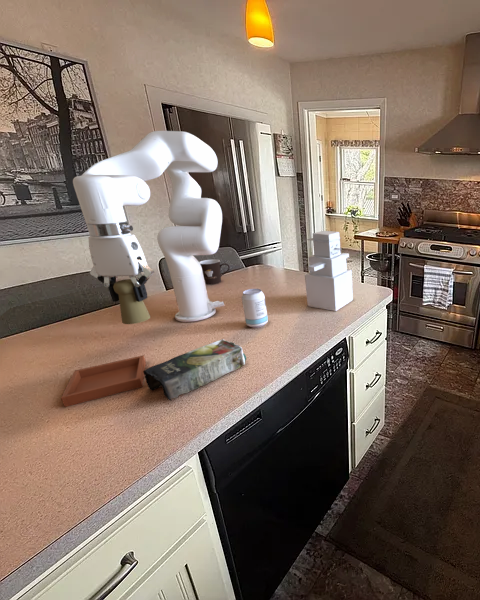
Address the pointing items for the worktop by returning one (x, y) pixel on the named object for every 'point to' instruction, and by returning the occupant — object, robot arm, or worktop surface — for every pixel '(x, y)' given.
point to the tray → (104, 380)
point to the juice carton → (195, 368)
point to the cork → (130, 303)
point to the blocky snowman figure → (328, 273)
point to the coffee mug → (212, 271)
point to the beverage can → (254, 308)
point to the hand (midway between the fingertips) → (130, 299)
